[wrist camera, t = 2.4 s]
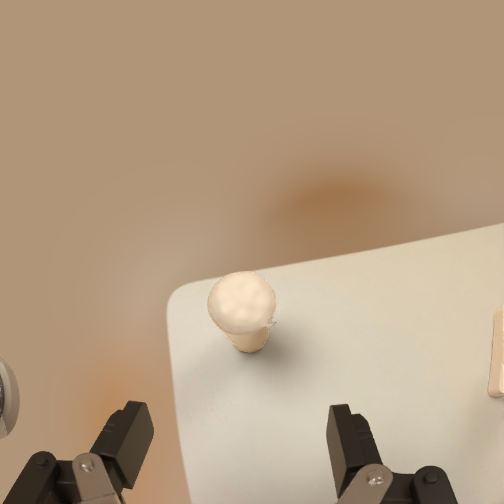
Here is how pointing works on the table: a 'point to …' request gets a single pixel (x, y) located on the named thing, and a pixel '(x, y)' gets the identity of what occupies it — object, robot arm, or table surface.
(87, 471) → the robot arm
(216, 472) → the table surface
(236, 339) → the milkshake
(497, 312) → the cream mounting bracket
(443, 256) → the table surface
